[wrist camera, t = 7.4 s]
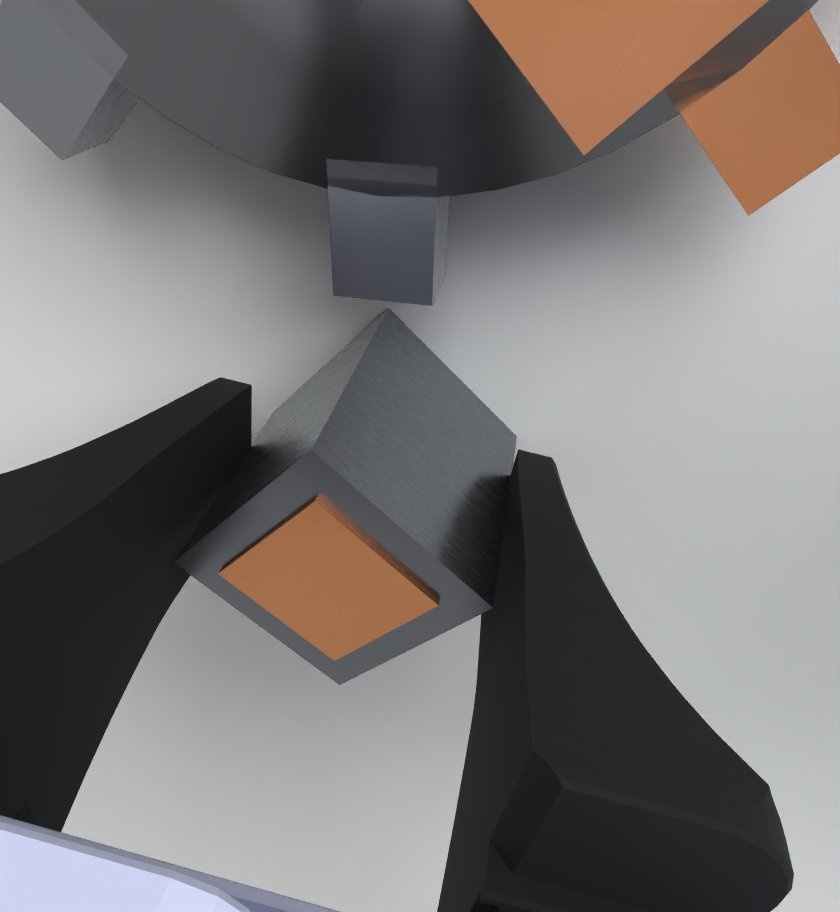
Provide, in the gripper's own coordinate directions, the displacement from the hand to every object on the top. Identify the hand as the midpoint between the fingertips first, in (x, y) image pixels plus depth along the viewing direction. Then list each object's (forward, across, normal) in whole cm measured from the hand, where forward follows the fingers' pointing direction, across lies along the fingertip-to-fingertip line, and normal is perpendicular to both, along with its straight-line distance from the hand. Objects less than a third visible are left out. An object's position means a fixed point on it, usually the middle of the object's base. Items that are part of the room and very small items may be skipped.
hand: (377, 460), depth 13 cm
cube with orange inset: (+1, 0, 0) cm, 1 cm away
